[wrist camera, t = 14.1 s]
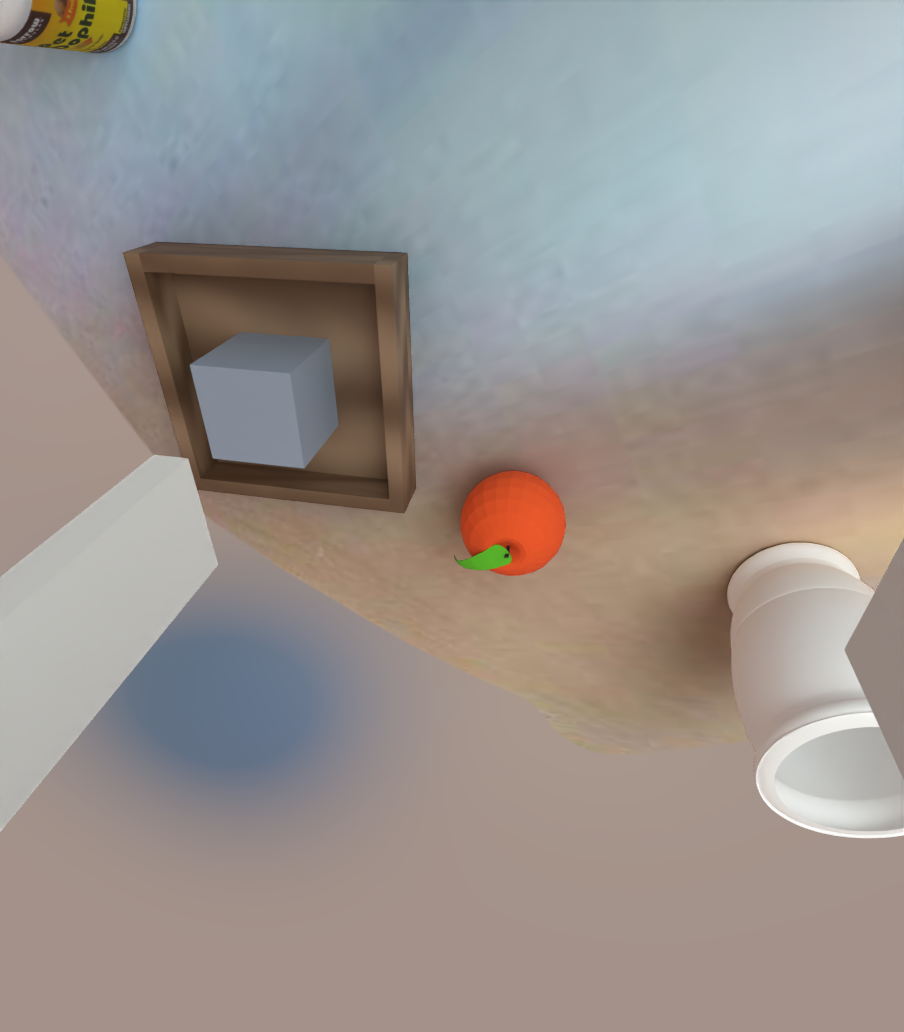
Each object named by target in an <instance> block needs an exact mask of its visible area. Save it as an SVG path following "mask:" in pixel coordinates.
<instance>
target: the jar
mask: <svg viewBox="0 0 904 1032" xmlns="http://www.w3.org/2000/svg"><path fill="white" fill-rule="evenodd" d="M874 593H875V592H874V591H873V590H872V589H871V588H870V587H868V586H867V585H866V584H864V583H863V582H862V581H860V578H859V574H858V572H857V570H856V568H855V566H854V565H853V564H852V562H851V561H850V560H849V559H848V558H847V557H846V556H844V555H843V554H841V553H840V552H838V551H836V550H834V549H832V548H830V547H827V546H823V545H820V544H814V543H787V544H781V545H777V546H773V547H770V548H767V549H765V550H763V551H760V552H758V553H756V554H755V555H753V556H752V557H750V558H749V559H747V560H746V561H745V562H744V563H743V564H742V565H740V566H739V568H738V569H737V570H736V571H735V573H734V574H733V576H732V578H731V580H730V582H729V585H728V590H727V599H728V604H729V607H730V609H731V611H732V613H733V616H732V621H731V631H730V641H731V652H732V655H731V674H732V683H733V690H734V695H735V700H736V704H737V707H738V711H739V714H740V717H741V720H742V723H743V726H744V728H745V731H746V733H747V735H748V738H749V740H750V742H751V744H752V746H753V748H754V750H755V752H756V754H755V757H754V765H753V770H754V777H755V780H756V784H757V788H758V791H759V793H760V795H761V797H762V798H763V800H764V801H765V802H766V804H767V805H768V806H769V807H770V808H771V809H772V810H774V811H775V812H776V813H777V814H779V815H780V816H782V817H783V818H785V819H787V820H789V821H790V822H792V823H795V824H797V825H799V826H802V827H804V828H807V829H810V830H813V831H817V832H821V833H825V834H830V835H836V836H843V837H854V838H883V837H894V836H902V835H904V780H903V777H902V775H901V773H900V771H899V769H898V766H897V764H896V762H895V760H894V758H893V756H892V753H891V751H890V749H889V747H888V745H887V742H886V740H885V738H884V736H883V734H882V731H881V729H880V727H879V725H878V723H877V720H876V718H875V716H874V714H873V712H872V710H871V707H870V705H869V703H868V701H867V699H866V696H865V694H864V692H863V690H862V688H861V685H860V683H859V681H858V679H857V677H856V675H855V672H854V670H853V668H852V666H851V664H850V661H849V659H848V657H847V655H846V653H845V650H844V649H845V647H846V645H847V643H848V641H849V639H850V638H851V636H852V634H853V632H854V630H855V628H856V626H857V625H858V623H859V621H860V619H861V617H862V615H863V613H864V611H865V610H866V608H867V606H868V604H869V602H870V600H871V598H872V597H873V595H874Z"/></svg>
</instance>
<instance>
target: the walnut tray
mask: <svg viewBox="0 0 904 1032" xmlns="http://www.w3.org/2000/svg"><path fill="white" fill-rule="evenodd" d="M123 255H124V258H125V262H126V265H127V268H128V272H129V275H130V279H131V282H132V286H133V289H134V293H135V296H136V300H137V303H138V307H139V310H140V314H141V317H142V321H143V324H144V328H145V331H146V335H147V338H148V342H149V345H150V348H151V352H152V355H153V359H154V362H155V366H156V369H157V373H158V376H159V380H160V383H161V387H162V390H163V394H164V397H165V401H166V404H167V408H168V411H169V415H170V418H171V421H172V425H173V428H174V432H175V435H176V439H177V442H178V446H179V449H180V453H181V456H182V458H188V459H189V463H190V466H191V470H192V474H193V477H194V481H195V484H196V488H197V490H205V491H213V492H222V493H231V494H240V495H248V496H257V497H266V498H274V499H283V500H292V501H301V502H309V503H318V504H327V505H336V506H344V507H353V508H362V509H371V510H379V511H388V512H397V513H405V511H406V509H407V507H408V504H409V502H410V500H411V498H412V496H413V494H414V492H415V489H416V476H415V448H414V421H413V394H412V366H411V339H410V312H409V284H408V257H407V253H398V252H375V251H353V250H330V249H307V248H285V247H262V246H239V245H217V244H194V243H171V242H155V243H152V244H148V245H145V246H142V247H139V248H136V249H133V250H129V251H126V252H123ZM240 332H247V333H260V334H274V335H287V336H300V337H314V338H327V339H329V342H330V351H331V360H332V370H333V379H334V388H335V397H336V406H337V416H338V425H339V426H338V427H337V428H336V429H335V431H334V432H333V433H332V434H331V436H330V437H329V438H328V439H327V441H326V442H325V443H324V444H323V446H322V447H321V448H320V449H319V451H318V452H317V453H316V454H315V456H314V457H313V458H312V459H311V461H310V462H309V463H308V465H307V466H306V467H305V468H304V469H303V468H294V467H285V466H276V465H267V464H258V463H249V462H240V461H231V460H222V459H213V457H212V453H211V449H210V445H209V441H208V437H207V433H206V429H205V425H204V421H203V417H202V413H201V409H200V405H199V401H198V397H197V393H196V389H195V385H194V381H193V377H192V373H191V369H190V364H192V363H193V362H195V361H196V360H198V359H199V358H201V357H203V356H204V355H206V354H207V353H209V352H210V351H212V350H213V349H215V348H217V347H218V346H220V345H221V344H223V343H224V342H226V341H227V340H229V339H230V338H232V337H234V336H235V335H237V334H238V333H240Z"/></svg>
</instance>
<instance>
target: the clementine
mask: <svg viewBox="0 0 904 1032" xmlns="http://www.w3.org/2000/svg"><path fill="white" fill-rule="evenodd" d="M565 528H566V521H565V514H564V508H563V505H562V503H561V501H560V499H559V496H558V495H557V494H556V493H555V492H554V491H553V489H552V488H551V487H550V486H549V485H548V484H547V483H546V482H545V481H543V480H542V479H540V478H539V477H537V476H535V475H532V474H530V473H527V472H521V471H504V472H500V473H497V474H494V475H492V476H490V477H488V478H486V479H485V480H483V481H482V482H480V483H479V484H477V485H476V487H475V488H474V489H473V490H472V491H471V493H470V494H469V496H468V497H467V499H466V501H465V504H464V506H463V508H462V514H461V527H460V529H461V533H462V537H463V541H464V543H465V546H466V548H467V549H468V551H469V553H470V554H471V556H472V557H471V558H469V559H466V560H461V561H459V560H457V559H456V557H455V555H454V557H455V560H456V562H457V563H458V564H459V565H461V566H463V567H464V568H468V569H474V570H488V569H489V570H490V571H493V572H495V573H498V574H502V575H508V576H514V575H524V574H527V573H531V572H534V571H536V570H538V569H540V568H542V567H543V566H544V565H546V564H547V563H548V562H549V561H550V560H551V559H552V558H553V557H554V556H555V555H556V553H557V552H558V550H559V548H560V546H561V544H562V541H563V538H564V534H565Z"/></svg>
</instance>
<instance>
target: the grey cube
mask: <svg viewBox="0 0 904 1032" xmlns="http://www.w3.org/2000/svg"><path fill="white" fill-rule="evenodd" d="M190 369H191V373H192V377H193V381H194V385H195V389H196V393H197V397H198V401H199V405H200V409H201V413H202V417H203V421H204V425H205V429H206V433H207V437H208V441H209V445H210V449H211V453H212V457H213V459H222V460H231V461H240V462H249V463H258V464H267V465H276V466H285V467H294V468H303V469H304V468H305V467H306V466H307V465H308V463H309V462H310V461H311V459H312V458H313V457H314V456H315V454H316V453H317V452H318V451H319V449H320V448H321V447H322V446H323V444H324V443H325V442H326V441H327V439H328V438H329V437H330V436H331V434H332V433H333V432H334V431H335V429H336V428H337V427H338V426H339V425H338V416H337V406H336V397H335V388H334V379H333V370H332V360H331V351H330V342H329V339H327V338H314V337H300V336H287V335H274V334H260V333H247V332H240V333H238V334H237V335H235V336H234V337H232V338H230V339H229V340H227V341H226V342H224V343H223V344H221V345H220V346H218V347H217V348H215V349H213V350H212V351H210V352H209V353H207V354H206V355H204V356H203V357H201V358H199V359H198V360H196V361H195V362H193V363H192V364H190Z"/></svg>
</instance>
